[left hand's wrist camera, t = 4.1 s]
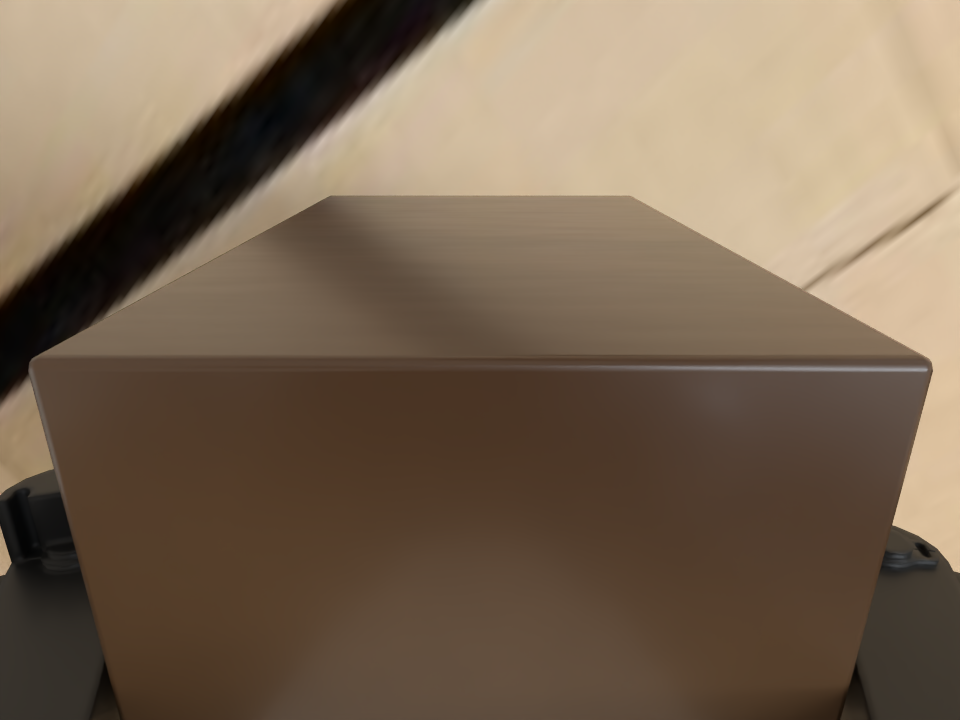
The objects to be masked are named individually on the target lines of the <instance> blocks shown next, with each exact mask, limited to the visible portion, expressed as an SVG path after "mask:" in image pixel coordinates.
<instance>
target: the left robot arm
mask: <svg viewBox="0 0 960 720" xmlns="http://www.w3.org/2000/svg"><path fill="white" fill-rule="evenodd" d="M0 526H1V529H2V533H3V536H4V539H5V542H6V546H7V549H8V552H9V555H10V559H11V562H12V564H11V565H10V567H9V569H8V571H7V573H6V575H3V576H0V720H120V716H119V712H118V708H117V705H116V701H115V697H114V693H113V690H112V686H111V682H110V678H109V674H108V671H107V667H106V663H105V659H104V655H103V652H102V648H101V644H100V640H99V637H98V633H97V629H96V625H95V621H94V618H93V614H92V610H91V606H90V602H89V599H88V595H87V591H86V587H85V584H84V580H83V576H82V572H81V568H80V565H79V561H78V557H77V553H76V550H75V546H74V542H73V538H72V534H71V531H70V527H69V523H68V519H67V515H66V512H65V508H64V504H63V500H62V497H61V493H60V489H59V485H58V481H57V478H56V474H55V470H54V469H53V470H49V471H46V472H43V473H40V474H38V475H35V476H32V477H30V478H27V479H25V480H23V481H21V482H19V483H18V484H16V485H14V486H12V487H10V488H9V489H7V490H5V491H4V492H3V493H2V494H1V495H0ZM840 720H960V573H958V572H954V571H953V570H952V568H951V566H950V564H949V562H948V561H947V560H946V559H945V558H944V556H943V555H942V554H941V553H940V552H939V551H938V549H937V548H935V547H934V546H932V545H931V544H929V543H928V542H926V541H925V540H923V539H922V538H920V537H919V536H917V535H915V534H912V533H910V532H908V531H905V530H903V529H901V528H898V527H896V526H892V527H891V531H890V534H889V538H888V542H887V546H886V549H885V553H884V557H883V561H882V565H881V568H880V572H879V576H878V580H877V583H876V587H875V591H874V595H873V598H872V602H871V606H870V610H869V614H868V617H867V621H866V625H865V629H864V632H863V636H862V640H861V644H860V648H859V651H858V655H857V659H856V663H855V666H854V670H853V674H852V678H851V682H850V685H849V689H848V693H847V697H846V700H845V704H844V708H843V712H842V715H841V719H840Z"/></svg>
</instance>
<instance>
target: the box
mask: <svg viewBox="0 0 960 720" xmlns="http://www.w3.org/2000/svg"><path fill="white" fill-rule="evenodd" d="M28 372H29V375H30V379H31V383H32V387H33V391H34V394H35V398H36V402H37V406H38V409H39V413H40V417H41V421H42V425H43V428H44V432H45V436H46V440H47V444H48V447H49V451H50V455H51V459H52V462H53V466H54V470H55V474H56V478H57V481H58V485H59V489H60V493H61V497H62V500H63V504H64V508H65V512H66V515H67V519H68V523H69V527H70V531H71V534H72V538H73V542H74V546H75V550H76V553H77V557H78V561H79V565H80V568H81V572H82V576H83V580H84V584H85V587H86V591H87V595H88V599H89V602H90V606H91V610H92V614H93V618H94V621H95V625H96V629H97V633H98V637H99V640H100V644H101V648H102V652H103V655H104V659H105V663H106V667H107V671H108V674H109V678H110V682H111V686H112V690H113V693H114V697H115V701H116V705H117V708H118V712H119V716H120V720H840V719H841V715H842V712H843V708H844V704H845V700H846V697H847V693H848V689H849V685H850V682H851V678H852V674H853V670H854V666H855V663H856V659H857V655H858V651H859V648H860V644H861V640H862V636H863V632H864V629H865V625H866V621H867V617H868V614H869V610H870V606H871V602H872V598H873V595H874V591H875V587H876V583H877V580H878V576H879V572H880V568H881V565H882V561H883V557H884V553H885V549H886V546H887V542H888V538H889V534H890V531H891V527H892V523H893V519H894V515H895V512H896V508H897V504H898V500H899V497H900V493H901V489H902V485H903V482H904V478H905V474H906V470H907V466H908V463H909V459H910V455H911V451H912V448H913V444H914V440H915V436H916V432H917V429H918V425H919V421H920V417H921V414H922V410H923V406H924V402H925V398H926V395H927V391H928V387H929V383H930V380H931V376H932V372H933V369H932V363H931V361H930V359H929V358H927V357H925V356H923V355H921V354H920V353H918V352H916V351H914V350H912V349H910V348H909V347H907V346H905V345H903V344H901V343H899V342H898V341H896V340H894V339H892V338H890V337H888V336H887V335H885V334H883V333H881V332H879V331H877V330H876V329H874V328H872V327H870V326H868V325H866V324H865V323H863V322H861V321H859V320H857V319H855V318H854V317H852V316H850V315H848V314H846V313H844V312H843V311H841V310H839V309H837V308H835V307H833V306H832V305H830V304H828V303H826V302H824V301H822V300H820V299H819V298H817V297H815V296H813V295H811V294H809V293H808V292H806V291H804V290H802V289H800V288H798V287H797V286H795V285H793V284H791V283H789V282H787V281H786V280H784V279H782V278H780V277H778V276H776V275H775V274H773V273H771V272H769V271H767V270H765V269H764V268H762V267H760V266H758V265H756V264H754V263H753V262H751V261H749V260H747V259H745V258H743V257H742V256H740V255H738V254H736V253H734V252H732V251H731V250H729V249H727V248H725V247H723V246H721V245H720V244H718V243H716V242H714V241H712V240H710V239H709V238H707V237H705V236H703V235H701V234H699V233H698V232H696V231H694V230H692V229H690V228H688V227H687V226H685V225H683V224H681V223H679V222H677V221H676V220H674V219H672V218H670V217H668V216H666V215H665V214H663V213H661V212H659V211H657V210H655V209H654V208H652V207H650V206H648V205H646V204H644V203H643V202H641V201H639V200H637V199H635V198H633V197H631V196H329V197H327V198H325V199H323V200H322V201H320V202H318V203H316V204H314V205H312V206H311V207H309V208H307V209H305V210H303V211H301V212H300V213H298V214H296V215H294V216H292V217H290V218H289V219H287V220H285V221H283V222H281V223H279V224H278V225H276V226H274V227H272V228H270V229H268V230H267V231H265V232H263V233H261V234H259V235H257V236H256V237H254V238H252V239H250V240H248V241H246V242H245V243H243V244H241V245H239V246H237V247H235V248H234V249H232V250H230V251H228V252H226V253H224V254H223V255H221V256H219V257H217V258H215V259H214V260H212V261H210V262H208V263H206V264H204V265H203V266H201V267H199V268H197V269H195V270H193V271H192V272H190V273H188V274H186V275H184V276H182V277H181V278H179V279H177V280H175V281H173V282H171V283H170V284H168V285H166V286H164V287H162V288H160V289H159V290H157V291H155V292H153V293H151V294H149V295H148V296H146V297H144V298H142V299H140V300H138V301H137V302H135V303H133V304H131V305H129V306H127V307H126V308H124V309H122V310H120V311H118V312H116V313H115V314H113V315H111V316H109V317H107V318H105V319H104V320H102V321H100V322H98V323H96V324H94V325H93V326H91V327H89V328H87V329H85V330H83V331H82V332H80V333H78V334H76V335H74V336H73V337H71V338H69V339H67V340H65V341H63V342H62V343H60V344H58V345H56V346H54V347H52V348H51V349H49V350H47V351H45V352H43V353H41V354H40V355H38V356H36V357H34V358H32V360H31V361H30V363H29V369H28Z"/></svg>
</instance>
